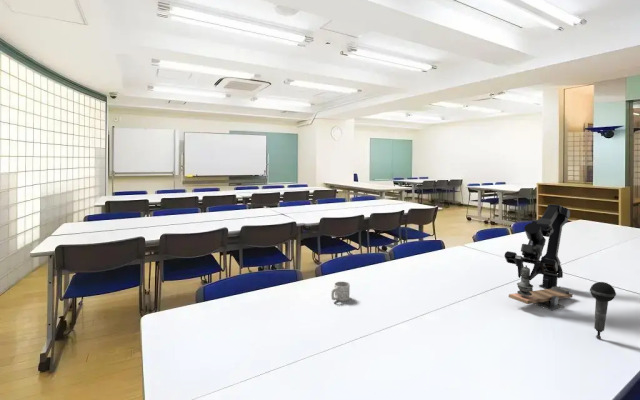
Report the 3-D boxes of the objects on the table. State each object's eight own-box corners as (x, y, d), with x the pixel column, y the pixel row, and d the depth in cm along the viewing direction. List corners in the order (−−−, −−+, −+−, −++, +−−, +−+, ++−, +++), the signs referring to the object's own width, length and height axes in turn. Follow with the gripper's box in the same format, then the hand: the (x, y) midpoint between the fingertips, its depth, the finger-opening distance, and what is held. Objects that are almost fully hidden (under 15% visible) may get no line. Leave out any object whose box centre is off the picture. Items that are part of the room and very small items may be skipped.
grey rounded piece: (515, 289, 144) (517, 262, 142) (532, 291, 141) (533, 264, 140) (516, 294, 139) (518, 266, 137) (533, 297, 136) (535, 268, 135)
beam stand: (530, 295, 154) (531, 285, 153) (563, 307, 141) (564, 296, 141) (519, 298, 150) (519, 288, 150) (552, 310, 138) (553, 300, 137)
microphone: (584, 331, 121) (589, 277, 119) (610, 337, 117) (615, 281, 115) (586, 340, 115) (591, 283, 113) (612, 346, 111) (618, 287, 109)
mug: (341, 294, 156) (341, 280, 155) (352, 298, 151) (352, 284, 150) (326, 300, 149) (326, 286, 148) (337, 305, 144) (337, 290, 143)
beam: (553, 290, 156) (553, 285, 156) (572, 296, 149) (572, 291, 149) (508, 297, 142) (509, 291, 142) (527, 304, 135) (528, 298, 135)
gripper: (507, 232, 147) (495, 262, 141) (558, 240, 133) (547, 273, 127) (513, 247, 153) (501, 276, 147) (562, 255, 139) (552, 288, 133)
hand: (524, 278), depth 138 cm, fingers closed on grey rounded piece, 4 cm apart
